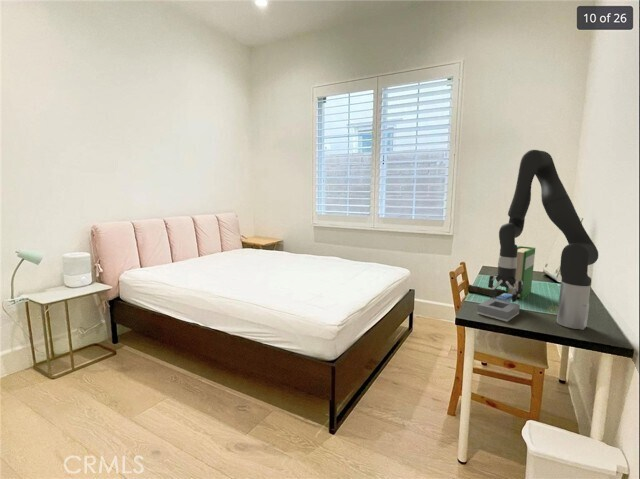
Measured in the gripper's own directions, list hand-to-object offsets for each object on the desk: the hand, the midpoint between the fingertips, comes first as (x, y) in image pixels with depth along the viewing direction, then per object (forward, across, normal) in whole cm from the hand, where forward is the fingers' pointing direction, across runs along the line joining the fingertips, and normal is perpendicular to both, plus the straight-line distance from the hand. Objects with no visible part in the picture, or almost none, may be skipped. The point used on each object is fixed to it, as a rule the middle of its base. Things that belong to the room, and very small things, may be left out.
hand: (503, 299), depth 156 cm
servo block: (+3, 0, 0) cm, 3 cm away
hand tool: (+3, +11, -9) cm, 14 cm away
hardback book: (+3, +1, -23) cm, 23 cm away
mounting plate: (+2, -3, +15) cm, 16 cm away
